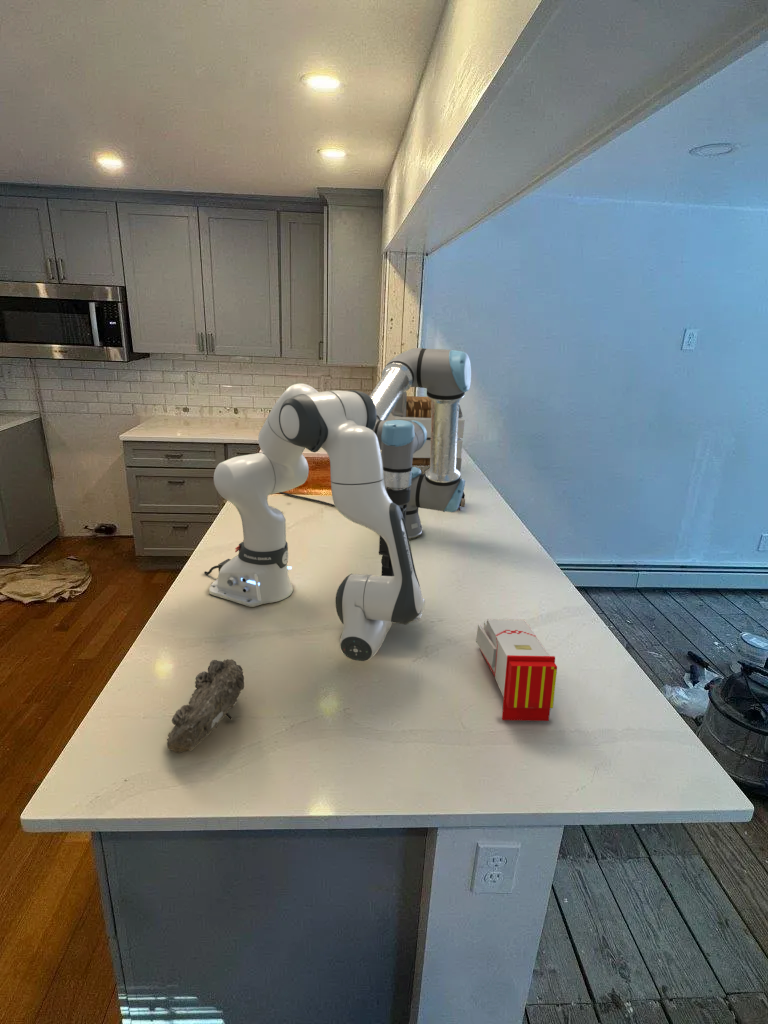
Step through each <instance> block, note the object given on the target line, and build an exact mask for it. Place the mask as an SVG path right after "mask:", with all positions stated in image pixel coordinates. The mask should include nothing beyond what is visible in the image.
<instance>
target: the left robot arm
mask: <svg viewBox="0 0 768 1024" xmlns="http://www.w3.org/2000/svg"><path fill="white" fill-rule="evenodd" d="M376 418H377V413H376V407H375V404H374V402H373V400H372V399H371V397H370V394H369V395H368V394H367V393H365V392H364V391H359V390H354V389H349V390H337V389H336V390H324V391H318V390H317V389H316V388H314V387H313V386H311V385H309V384H308V383H307V384H306V383H294V384H292V385H290V386H288V387H287V388H286V389H285V390H284V392H283V393H282V394H281V395H280V396H279V397H278V398H277V400H276V402H275V403H274V404H273V406H272V407H271V409H270V411H269V413H268V415H267V417H266V419H265V421H264V423H263V424H262V427H261V428H260V430H259V433H258V437H257V438H258V446H259V448H260V451H259V452H257V453H249V454H244V455H238V456H233V457H231V458H228V459H226V460H223V461H221V462H219V463H218V464H217V465H216V467H215V469H214V473H213V485H214V487H215V490H216V492H217V493H218V494H219V496H220V497H221V498H222V499H224V500H226V501H227V502H229V503H231V504H232V505H233V506H234V507H235V508H236V510H237V511H238V513H239V516H240V519H241V524H242V534H243V539H242V541H241V542H240V543H239V544H238V546H236V547H235V548H234V550H235V551H234V553H237V552H238V554H236V555H235V556H234V557H231V558H227V559H225V560H223V561H221V562H219V563H218V565H214V566H212V567H211V568H210V569H209V570H208V571H206V570H205V571H203V573H204V575H211V573H212V572H213V570H216V569H218V574H217V578H216V579H215V580H214V581H213V582H212V583H211V584H210V586H209V588H208V589H209V591H208V592H209V595H212V596H215V597H218V598H221V599H224V600H227V601H229V602H233V603H237V604H239V605H243V606H245V607H250V608H254V607H258V606H261V605H264V604H265V605H266V604H272V603H277V602H280V601H283V600H285V599H287V598H288V597H289V596H291V595H292V594H293V591H294V587H293V584H292V581H291V577H290V574H289V570H292V568H293V567H292V566H288V563H289V546H288V545H289V544H288V541H287V523H286V521H287V520H286V516H285V515H284V513H283V511H281V510H280V509H278V508H277V507H274V506H271V505H269V501H268V497H269V496H270V495H274V494H280V492H284V493H285V492H289V491H292V490H293V489H296V488H298V487H300V486H302V485H304V484H305V483H306V481H307V480H308V477H309V473H310V470H309V469H310V467H309V463H308V460H307V458H306V457H305V455H304V454H303V453H304V451H305V449H306V450H307V451H310V452H312V453H317V452H318V451H320V450H321V449H323V450H324V452H325V453H326V454H327V456H328V458H329V465H330V466H329V467H330V489H331V491H330V492H331V496H332V502H333V504H334V505H335V507H334V508H336V511H338V513H340V514H341V516H342V517H343V518H346V520H348V521H350V522H352V523H353V524H357V525H359V526H361V527H364V528H367V529H368V530H370V531H373V533H375V534H377V535H379V537H380V536H381V537H382V538H383V539H384V540H385V541H386V543H387V545H388V549H389V554H390V558H391V563H392V568H393V572H394V576H381V575H376V574H365V573H350V574H348V575H347V576H346V577H344V579H343V580H342V581H341V583H340V584H339V585H338V588H337V590H336V594H335V602H334V603H335V611H336V614H337V616H338V618H339V620H340V621H339V622H341V624H342V632H341V636H340V640H339V648H340V651H341V652H342V654H343V655H344V656H345V657H347V658H348V659H350V660H351V661H356V662H366V661H368V660H371V659H372V658H373V657H374V656H375V655H376V654H377V653H378V652H379V650H380V648H381V647H382V645H383V644H384V641H385V639H386V636H387V634H388V632H389V631H390V630H391V627H392V626H393V623H395V624H401V625H407V624H409V623H414V622H416V621H420V620H421V618H422V616H423V613H424V612H425V606H426V605H425V604H426V599H425V598H424V597H423V593H422V589H421V584H420V581H419V578H418V575H417V571H416V567H415V563H414V558H413V554H412V548H411V544H410V540H409V538H408V534H407V529H406V525H405V521H404V518H403V514H402V512H401V509H400V507H399V506H398V505H397V504H395V503H393V502H392V501H391V499H390V498H389V496H388V494H387V491H386V489H385V485H384V473H383V463H382V456H381V450H380V446H379V442H378V438H377V435H376V434H375V432H374V431H373V428H374V426H375V424H376Z"/></svg>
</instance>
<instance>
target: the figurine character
mask: <svg viewBox="0 0 768 1024" xmlns="http://www.w3.org/2000/svg"><path fill="white" fill-rule="evenodd" d="M464 491H465V490H464ZM464 491H463V495H462V499H461V502H460V505H459V507H458V509H457V510H458V511H461V510H462V509H461V508H465V505H466V497H465V496H466V494H465V492H464Z"/></svg>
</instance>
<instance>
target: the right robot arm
mask: <svg viewBox="0 0 768 1024" xmlns="http://www.w3.org/2000/svg"><path fill="white" fill-rule="evenodd" d="M471 381H472V365H471V359H470V357H469V355H468V353H467V352H465V351H463V350H455V349H443V348H441V349H440V348H424V347H416V348H411V349H408V350H405V351H403V352H400V353H399V354H397V355H396V356H394V357H393V358H392V359H390V361H388V363H386V364H385V366H384V368H383V369H382V372H381V378H380V380H379V381H378V382H377V384H376V385H375V387H374V388H373V390H372V391H371V393H370V394H369V396H370V397H371V399H372V400H373V402H374V404H375V407H376V413H377V418H376V424H375V426H374V428H373V431H374V432H375V434H376V435H377V438H378V442H379V446H380V451H381V456H382V463H383V473H384V485H385V489H386V491H387V494H388V496H389V498H390V499H391V501H392V502H393V503H395V504H397V505H398V506H399V507H400V509H401V512H402V514H403V518H404V521H405V525H406V529H407V534H408V538H409V541H410V540H415V539H418V538H420V537H421V536H422V535H423V525H422V524H421V518H420V515H419V509H425V510H432V511H439V512H443V513H445V512H447V513H456V512H457V511H458V510H459V509H458V507H459V505H460V502H461V499H462V495H463V491H465V485H466V480H465V479H464V478H462V477H461V474H460V472H459V471H458V470H457V469H456V456H457V436H458V416H459V405H460V401H461V400H462V399H463V398H464V397H465V393H466V392H468V391H470V388H471V384H472V382H471ZM411 388H421V389H426V397H429V398H430V399H431V443H430V466H429V468H428V469H427V470H426V471H425V473H422V469H421V468H419V467H417V466H412V460H413V454H414V453H415V452H416V451H418V450H419V449H421V448H422V446H423V445H424V443H425V442H426V439H427V431H426V429H425V427H424V426H423V424H421V423H420V422H418V421H414V420H412V421H404V420H391V421H386V420H387V418H388V416H389V415H390V413H391V412H392V410H393V408H394V407H395V405H396V403H397V402H398V400H399V399H400V397H401V395H402V394H403V392H406V393H407V391H409V390H410V389H411ZM280 494H281V495H283V496H288V497H293V498H297V499H300V500H307V501H311V502H315V503H320V504H324V505H326V506H329V507H333V508H336V507H335V505H334V503H330V502H327V501H323V500H319V499H316V498H310V497H305V496H301V495H297V494H292V493H288V492H285V491H284V492H280V493H279V495H280ZM378 545H379V546H378V555H380V556H381V559H382V563H381V573H380V574H381V575H380V576H393V568H392V563H391V558H390V554H389V549H388V545H387V543H386V541H385V540H384V539H383V538H382V537H381V536H380V535H379V544H378Z"/></svg>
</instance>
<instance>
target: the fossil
mask: <svg viewBox="0 0 768 1024" xmlns="http://www.w3.org/2000/svg"><path fill="white" fill-rule="evenodd" d="M243 670H244V669H243V667H242V665H240V664H237V662H236V661H235V660H234V659H232V658H231V659H227V658H226V659H224V660H223V661H222V660H217V659H212V660H211V661H210V663H209V665H208V666H207V671H201V672H199V673H198V674H197V675H196V676H195V680H194V684H195V685H194V687H195V689H194V690H193V693H192V694H191V697H190V698H189V700H188V704H184V705H182V706H181V707H180V709H177V710H176V711H175V713H174V715H173V716H172V718H171V723H172V724H173V727H172V730H171V731H170V732H168V734H167V738H166V741H167V742H166V745H167V749H168V750H169V751H173V752H174V753H176V754H178V753H182V752H188V751H189V752H192V751H193V750H195V748H196V747H197V746H199V744H200V743H201V742H203V741H204V740H205V739H206V738H207V737H208V736H209V735H210V734H211V733H212V732H214V730H215V729H217V727H218V726H219V724H220V722H221V721H222V720H223V719H224V718H225V716H226V717H227V719H229V720H233V717H232V715H230V714H229V710H230V709H231V708H234V706H235V704H236V703H237V702H238V699H239V697H240V695H241V693H242V691H243V690H245V689H244V688H245V675H244V671H243Z"/></svg>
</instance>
